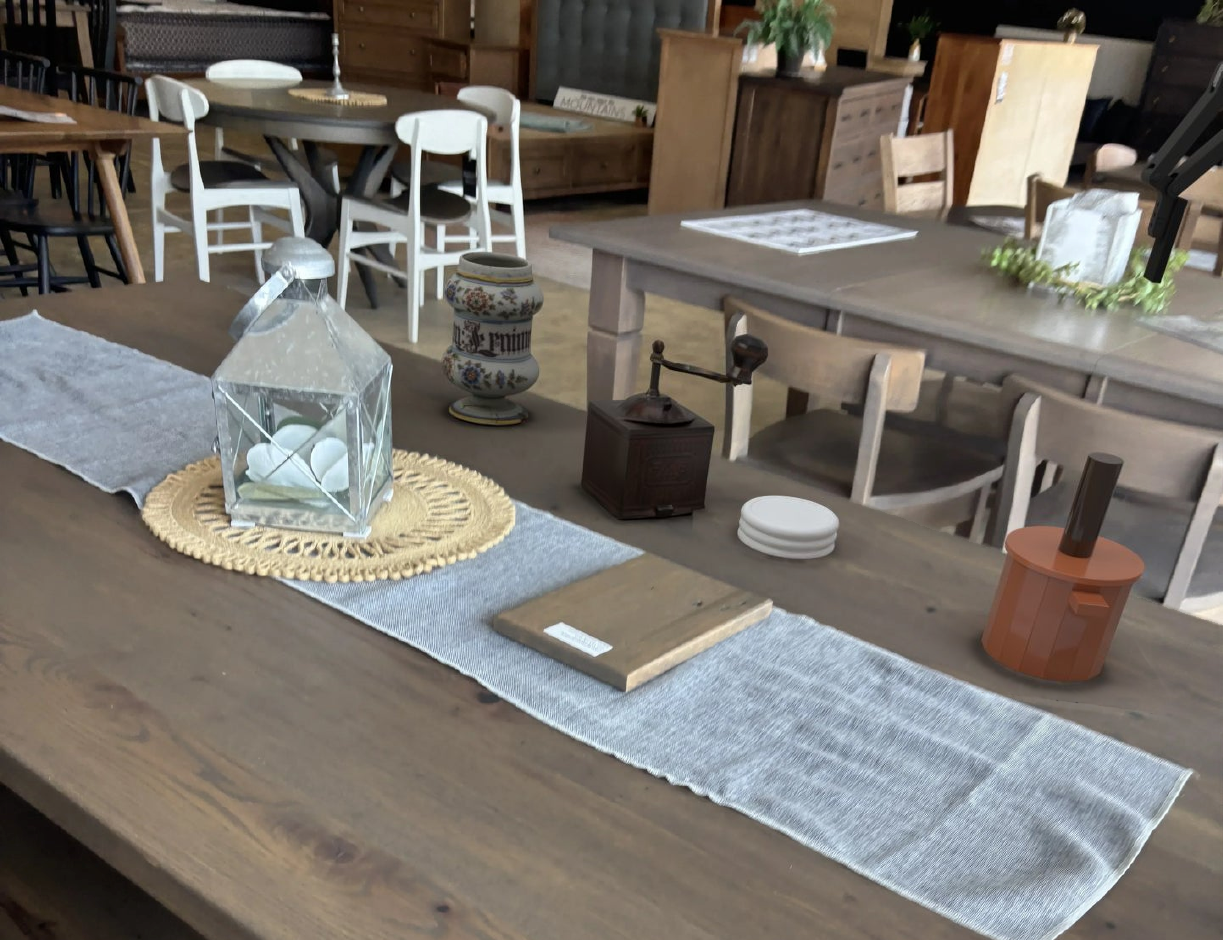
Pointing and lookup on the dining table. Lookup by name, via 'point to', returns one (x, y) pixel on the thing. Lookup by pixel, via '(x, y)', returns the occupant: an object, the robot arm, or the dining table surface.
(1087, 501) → the lid
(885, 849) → the dining table surface
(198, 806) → the dining table surface
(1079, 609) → the pot
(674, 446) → the coffee grinder
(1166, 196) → the robot arm
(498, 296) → the apothecary jar
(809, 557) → the white stacked discs
